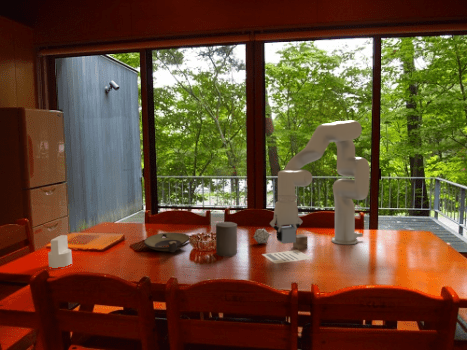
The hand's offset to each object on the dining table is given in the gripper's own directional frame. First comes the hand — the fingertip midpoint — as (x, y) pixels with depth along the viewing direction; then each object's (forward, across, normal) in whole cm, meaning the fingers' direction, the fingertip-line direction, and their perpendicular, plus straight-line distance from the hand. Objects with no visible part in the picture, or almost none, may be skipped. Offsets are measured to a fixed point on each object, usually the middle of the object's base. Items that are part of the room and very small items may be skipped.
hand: (286, 239), depth 168 cm
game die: (+8, +2, -24) cm, 26 cm away
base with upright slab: (+9, +94, -25) cm, 97 cm away
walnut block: (+8, -12, -10) cm, 18 cm away
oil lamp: (+9, +48, -31) cm, 58 cm away
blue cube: (+1, 0, 0) cm, 1 cm away
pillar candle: (+8, +23, -15) cm, 29 cm away
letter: (+8, 0, 0) cm, 8 cm away
